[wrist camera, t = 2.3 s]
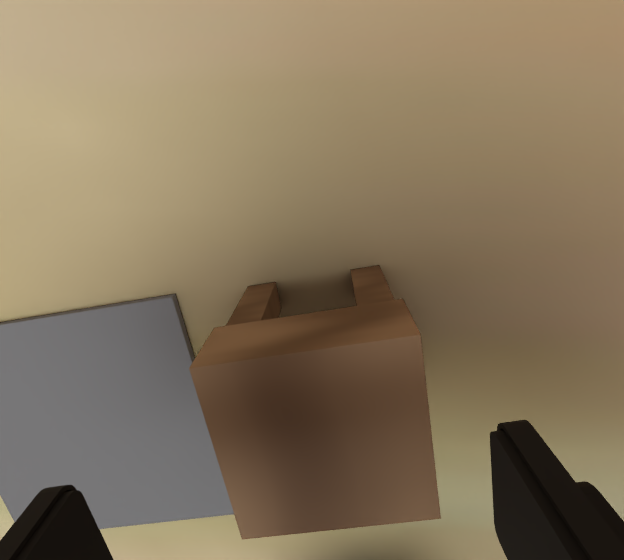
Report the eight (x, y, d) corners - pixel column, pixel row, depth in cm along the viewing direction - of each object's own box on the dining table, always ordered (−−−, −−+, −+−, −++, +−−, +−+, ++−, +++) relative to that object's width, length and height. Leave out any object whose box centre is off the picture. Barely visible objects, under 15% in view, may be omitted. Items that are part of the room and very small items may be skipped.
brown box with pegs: (383, 259, 17) (420, 334, 10) (399, 384, 18) (440, 518, 12) (242, 282, 17) (188, 368, 11) (271, 402, 19) (242, 539, 12)
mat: (175, 293, 17) (171, 297, 17) (239, 507, 21) (238, 513, 21) (-74, 334, 19) (-83, 338, 18) (28, 530, 22) (22, 537, 22)
